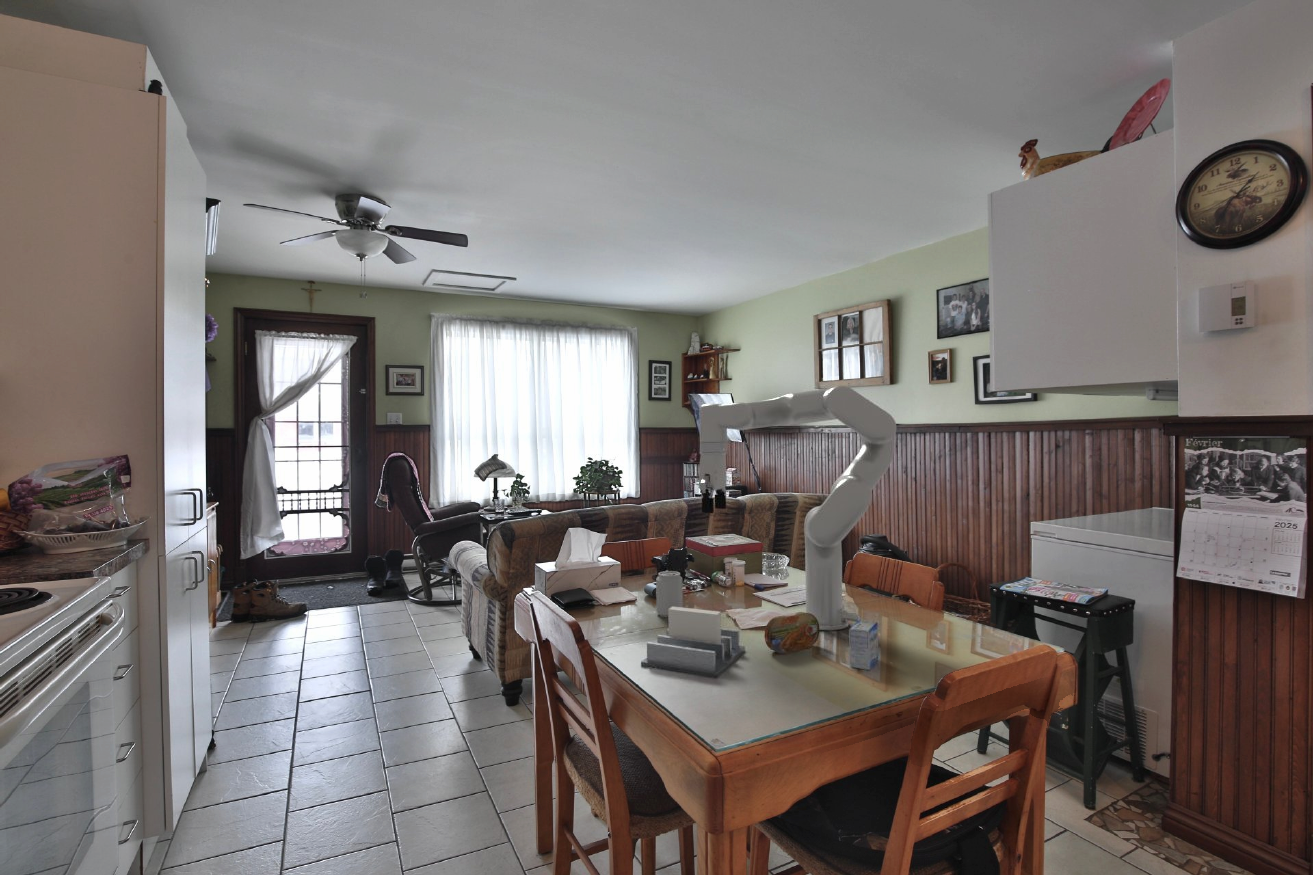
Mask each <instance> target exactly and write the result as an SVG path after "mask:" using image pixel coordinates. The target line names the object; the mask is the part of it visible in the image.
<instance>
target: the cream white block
mask: <svg viewBox="0 0 1313 875" xmlns="http://www.w3.org/2000/svg"><path fill="white" fill-rule="evenodd" d="M667 618H668V619H667V620H668V629H669V636H672V637H679V638H686V639H693V640H701V641H708V642H715V643H721V628H722V626H721V625H722V611H718V610H708V609H707V610H706V609H699V608H691V607H690V608H689V607H683V608H682V607H671V608H669V609H668V617H667Z"/></svg>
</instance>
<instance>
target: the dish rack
mask: <svg viewBox="0 0 1313 875" xmlns="http://www.w3.org/2000/svg"><path fill="white" fill-rule="evenodd" d="M656 638H657V642H653V641H647V643H646V657H645V658H644V659H642V661H641V662H640V667H644V668H649V667H650V668H651V669H656V670H661V671H668V672H673V671H674V672H676V673H679V674H687V675H693V676H700V677H706V678H711V679H716V680H717V679H718V678H719V677H720V676H721V675H722V674H723V673H724V672H725V671H726V670H727V669H728V668H729V667H730V666H731V665H732V664H733V663H734V662H735V661H736V660H738V658H739V657H740V656H742V654H743V653H744V652H745V650H746V647H745V645H740V630H738V629H732V628H731V629H730V628H724V627H721V643H715V642H708V641H701V640H693V639H686V638H679V637H672V636H669V628H667V629H666V634H665V635H663V634H658V635H657V637H656Z"/></svg>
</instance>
